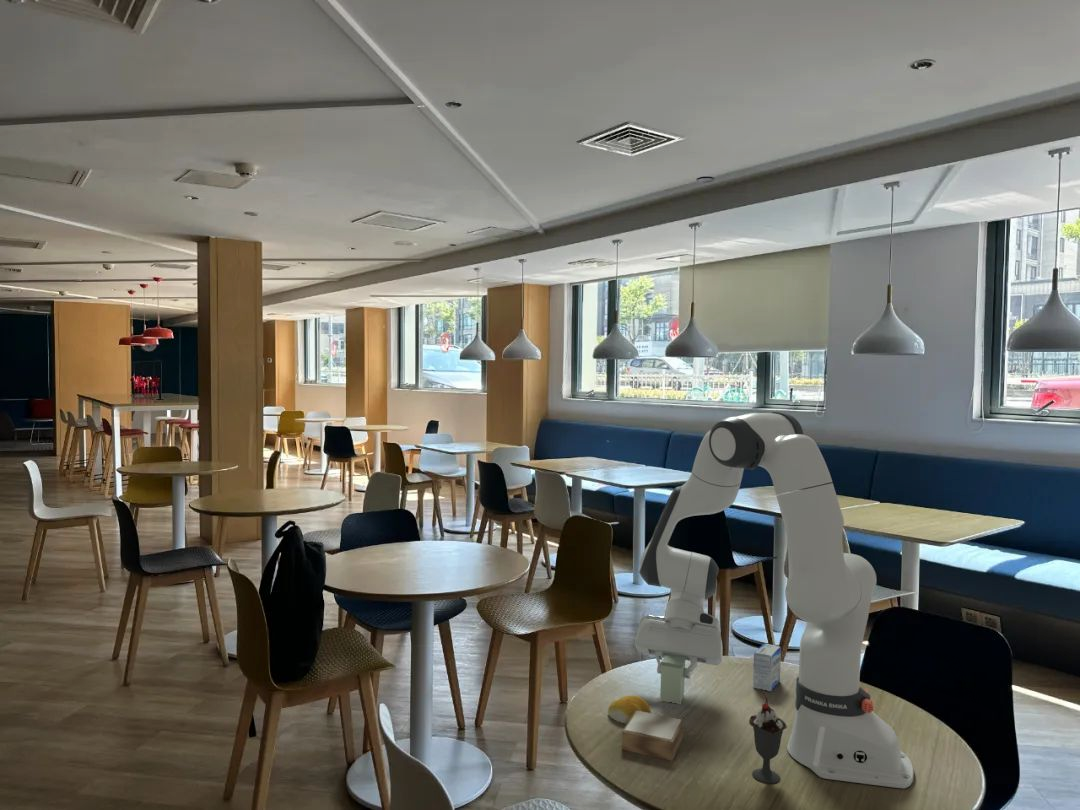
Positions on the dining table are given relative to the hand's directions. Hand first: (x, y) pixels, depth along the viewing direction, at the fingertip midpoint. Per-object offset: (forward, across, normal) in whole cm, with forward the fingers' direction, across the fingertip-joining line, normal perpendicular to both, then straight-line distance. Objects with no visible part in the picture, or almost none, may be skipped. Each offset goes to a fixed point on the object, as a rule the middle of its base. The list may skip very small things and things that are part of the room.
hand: (673, 675), depth 167 cm
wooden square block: (+20, +1, -12) cm, 23 cm away
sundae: (+22, +23, -14) cm, 35 cm away
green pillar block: (+4, 0, +4) cm, 5 cm away
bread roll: (+13, -7, -5) cm, 15 cm away
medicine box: (-8, +19, +16) cm, 27 cm away
